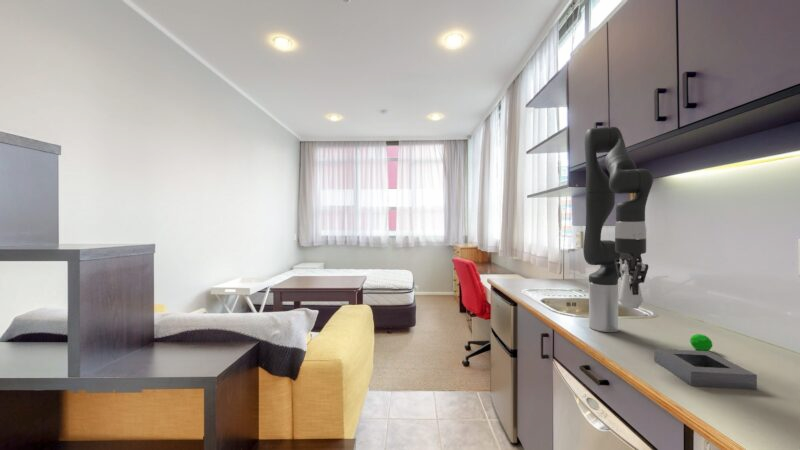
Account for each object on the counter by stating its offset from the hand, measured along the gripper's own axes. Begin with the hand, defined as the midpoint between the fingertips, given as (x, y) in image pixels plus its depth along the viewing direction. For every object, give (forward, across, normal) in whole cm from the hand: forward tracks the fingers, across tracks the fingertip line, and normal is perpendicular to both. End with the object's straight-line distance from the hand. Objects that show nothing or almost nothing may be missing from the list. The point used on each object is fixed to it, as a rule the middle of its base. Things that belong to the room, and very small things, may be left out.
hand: (630, 294), depth 94 cm
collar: (+19, +9, +12) cm, 24 cm away
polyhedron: (+19, -8, +24) cm, 32 cm away
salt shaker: (+4, 0, 0) cm, 4 cm away
